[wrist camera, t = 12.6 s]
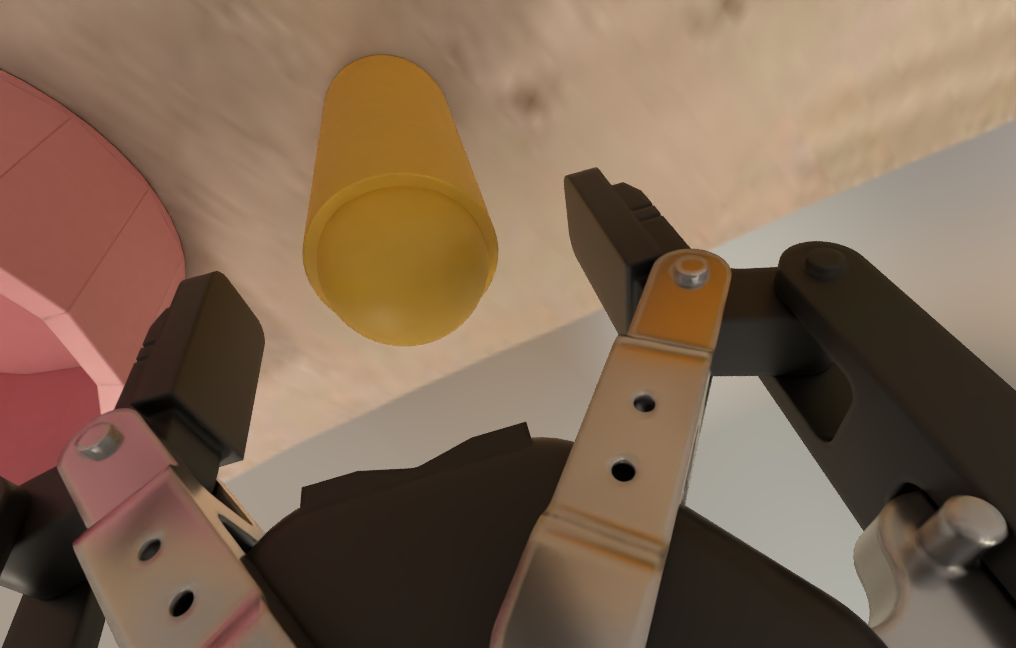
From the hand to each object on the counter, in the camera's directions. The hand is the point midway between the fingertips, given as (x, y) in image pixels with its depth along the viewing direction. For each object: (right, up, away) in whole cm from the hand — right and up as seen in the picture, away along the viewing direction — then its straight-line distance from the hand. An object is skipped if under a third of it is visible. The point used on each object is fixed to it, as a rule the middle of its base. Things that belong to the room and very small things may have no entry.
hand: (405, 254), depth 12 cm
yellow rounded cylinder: (-2, +6, +7) cm, 10 cm away
